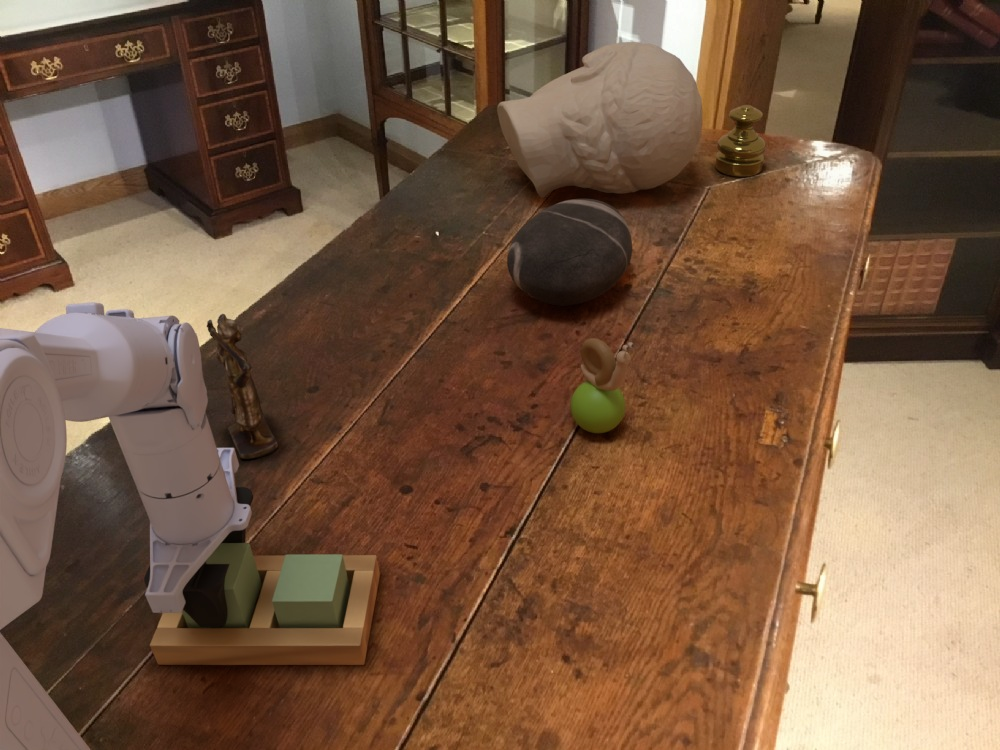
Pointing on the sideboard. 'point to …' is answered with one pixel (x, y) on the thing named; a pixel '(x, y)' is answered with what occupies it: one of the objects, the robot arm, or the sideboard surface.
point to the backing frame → (276, 628)
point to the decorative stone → (570, 252)
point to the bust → (608, 122)
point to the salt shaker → (741, 145)
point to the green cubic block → (312, 591)
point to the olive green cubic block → (236, 584)
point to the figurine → (242, 393)
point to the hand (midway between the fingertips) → (222, 596)
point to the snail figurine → (600, 387)
